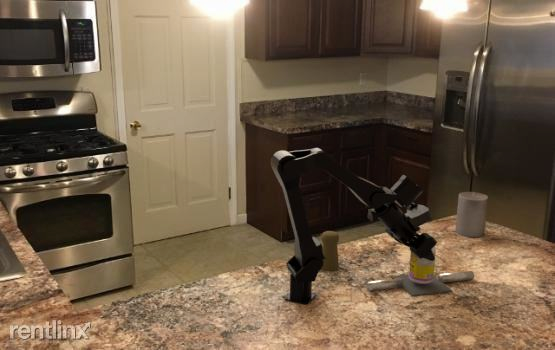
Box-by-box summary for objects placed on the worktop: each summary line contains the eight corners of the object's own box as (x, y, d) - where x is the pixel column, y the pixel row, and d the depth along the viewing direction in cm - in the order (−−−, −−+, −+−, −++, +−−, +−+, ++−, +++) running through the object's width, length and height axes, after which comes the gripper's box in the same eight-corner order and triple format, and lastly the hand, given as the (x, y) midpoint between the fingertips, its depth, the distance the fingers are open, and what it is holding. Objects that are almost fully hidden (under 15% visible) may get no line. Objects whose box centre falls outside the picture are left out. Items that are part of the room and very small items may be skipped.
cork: (340, 271, 163) (341, 236, 160) (319, 271, 163) (320, 235, 160) (338, 263, 169) (339, 229, 166) (318, 263, 169) (319, 228, 166)
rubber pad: (411, 296, 148) (411, 294, 148) (391, 277, 159) (391, 276, 159) (451, 291, 151) (452, 290, 151) (429, 273, 163) (429, 272, 162)
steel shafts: (369, 292, 150) (369, 284, 150) (365, 288, 152) (366, 280, 152) (473, 280, 158) (474, 272, 158) (468, 277, 161) (469, 269, 160)
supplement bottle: (408, 273, 159) (412, 230, 156) (432, 276, 157) (436, 232, 154) (408, 283, 153) (411, 238, 150) (433, 286, 151) (437, 240, 148)
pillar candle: (464, 226, 204) (468, 186, 200) (489, 233, 196) (493, 192, 193) (449, 232, 198) (453, 191, 194) (474, 240, 190) (478, 197, 187)
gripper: (433, 207, 139) (467, 246, 145) (398, 188, 157) (430, 223, 162) (402, 239, 139) (437, 277, 145) (370, 216, 157) (403, 250, 162)
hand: (427, 254), depth 154 cm, fingers closed on supplement bottle, 6 cm apart
